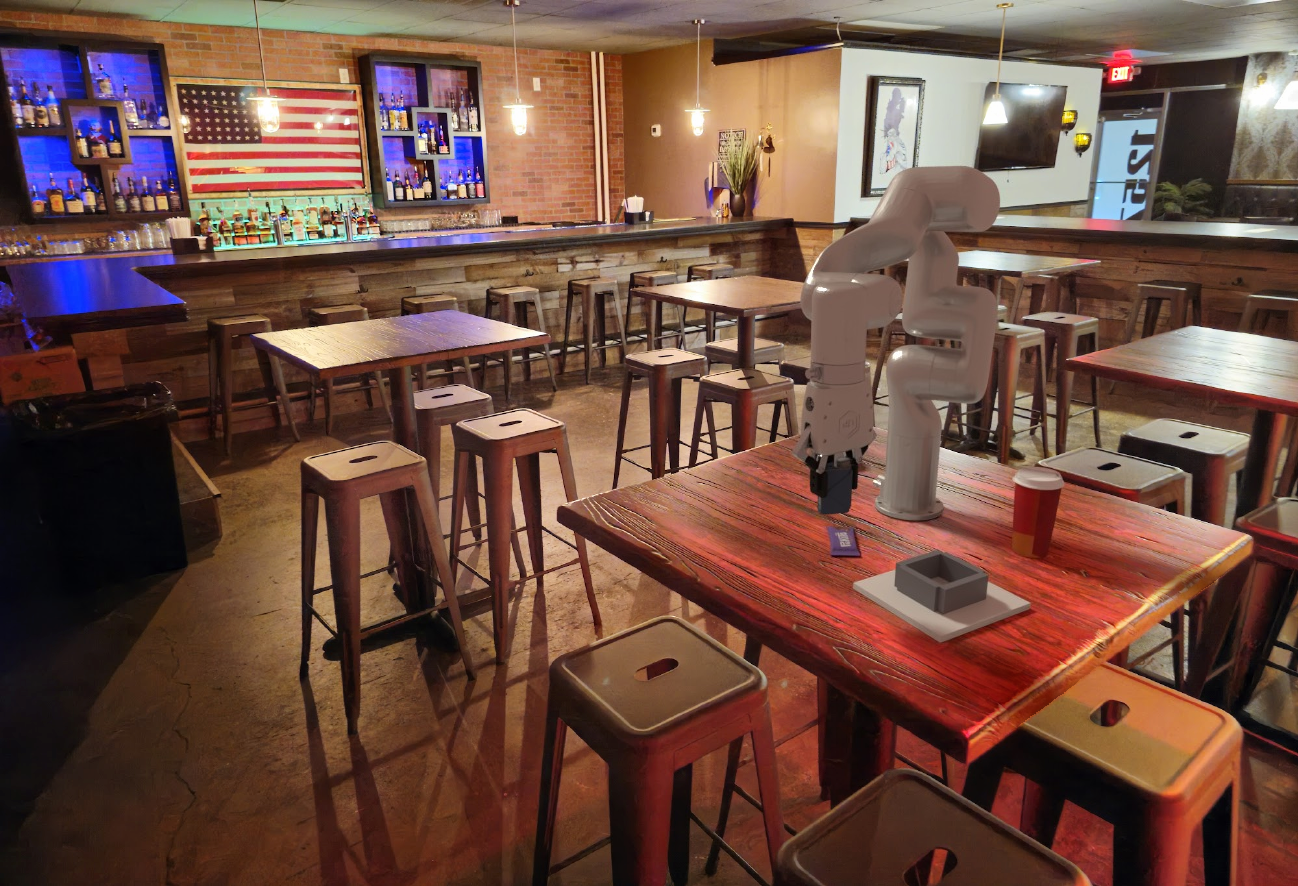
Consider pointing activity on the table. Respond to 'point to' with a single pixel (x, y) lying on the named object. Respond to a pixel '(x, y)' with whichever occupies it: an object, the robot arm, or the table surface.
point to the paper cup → (1035, 510)
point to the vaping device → (837, 487)
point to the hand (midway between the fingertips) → (833, 489)
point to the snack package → (842, 541)
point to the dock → (941, 595)
